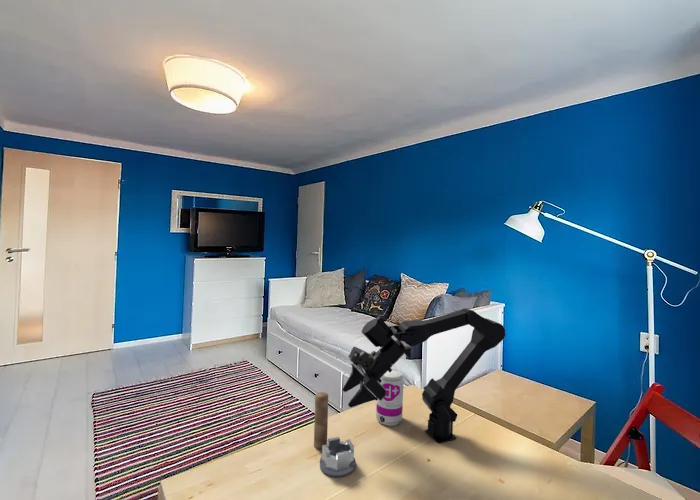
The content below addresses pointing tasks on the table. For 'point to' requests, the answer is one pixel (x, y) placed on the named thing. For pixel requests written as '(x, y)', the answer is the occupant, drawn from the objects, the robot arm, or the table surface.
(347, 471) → the flanged castle nut
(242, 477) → the table surface
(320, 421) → the walnut pin
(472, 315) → the robot arm
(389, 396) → the supplement can
